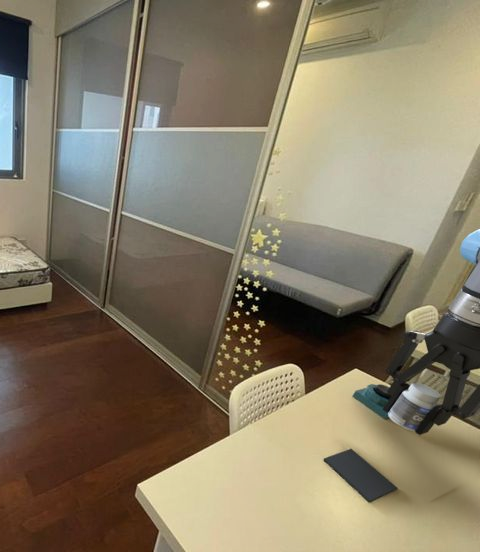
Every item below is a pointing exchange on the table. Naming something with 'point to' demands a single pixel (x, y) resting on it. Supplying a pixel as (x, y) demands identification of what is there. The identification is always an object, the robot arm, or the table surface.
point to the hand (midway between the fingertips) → (404, 420)
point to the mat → (360, 475)
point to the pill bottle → (413, 406)
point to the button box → (372, 400)
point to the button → (382, 391)
